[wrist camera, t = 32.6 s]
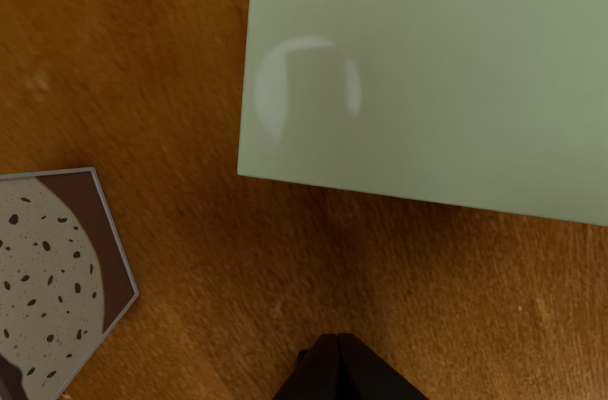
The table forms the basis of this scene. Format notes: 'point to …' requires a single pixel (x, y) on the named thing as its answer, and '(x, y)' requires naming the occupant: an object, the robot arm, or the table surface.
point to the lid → (433, 101)
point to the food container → (56, 279)
